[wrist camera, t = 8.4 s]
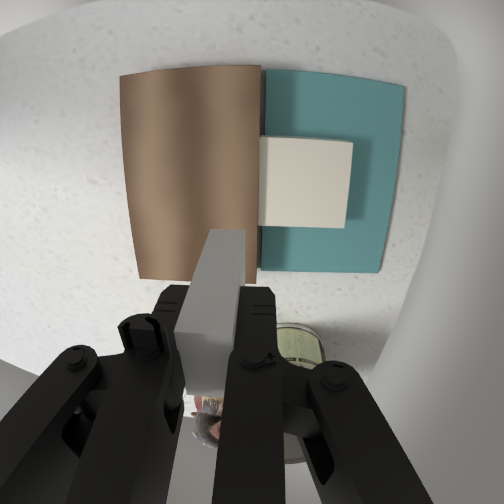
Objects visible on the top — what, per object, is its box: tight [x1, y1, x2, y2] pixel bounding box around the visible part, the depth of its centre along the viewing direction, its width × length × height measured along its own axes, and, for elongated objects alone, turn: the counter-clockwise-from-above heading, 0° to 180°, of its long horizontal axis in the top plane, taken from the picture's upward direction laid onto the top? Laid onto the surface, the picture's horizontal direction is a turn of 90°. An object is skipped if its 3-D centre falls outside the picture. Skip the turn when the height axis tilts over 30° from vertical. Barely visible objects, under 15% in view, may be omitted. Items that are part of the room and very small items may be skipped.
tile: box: [258, 135, 353, 228], centre depth 27 cm, size 8×8×2 cm
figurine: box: [191, 395, 224, 448], centre depth 36 cm, size 7×7×12 cm
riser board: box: [120, 65, 261, 284], centre depth 27 cm, size 12×20×3 cm, turn 179°
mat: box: [261, 69, 404, 273], centre depth 28 cm, size 13×20×1 cm, turn 179°
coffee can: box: [277, 323, 326, 464], centre depth 32 cm, size 10×10×14 cm
